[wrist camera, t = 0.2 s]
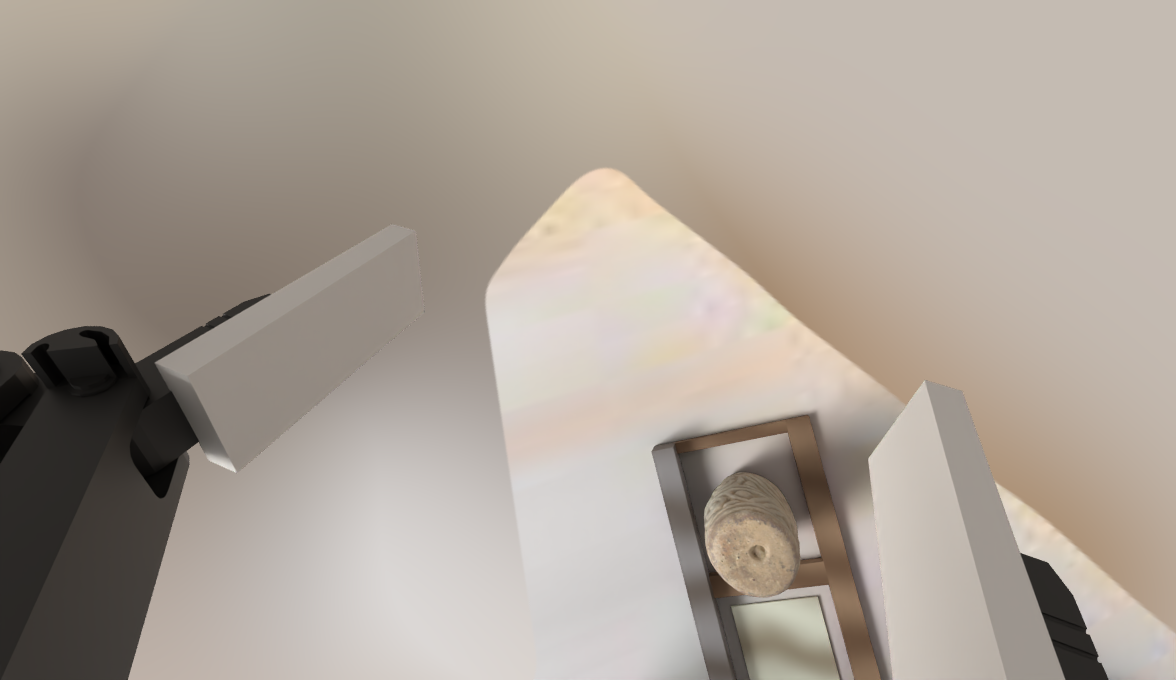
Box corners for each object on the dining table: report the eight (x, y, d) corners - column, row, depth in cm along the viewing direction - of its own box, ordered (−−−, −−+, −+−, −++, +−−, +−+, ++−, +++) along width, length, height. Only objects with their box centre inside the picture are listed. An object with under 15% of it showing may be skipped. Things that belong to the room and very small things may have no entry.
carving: (724, 452, 47) (725, 491, 35) (803, 493, 45) (832, 548, 33) (694, 511, 47) (685, 568, 36) (771, 554, 46) (788, 628, 34)
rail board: (891, 721, 43) (901, 744, 41) (727, 730, 47) (728, 752, 44) (807, 414, 45) (812, 419, 42) (655, 445, 48) (651, 451, 46)
